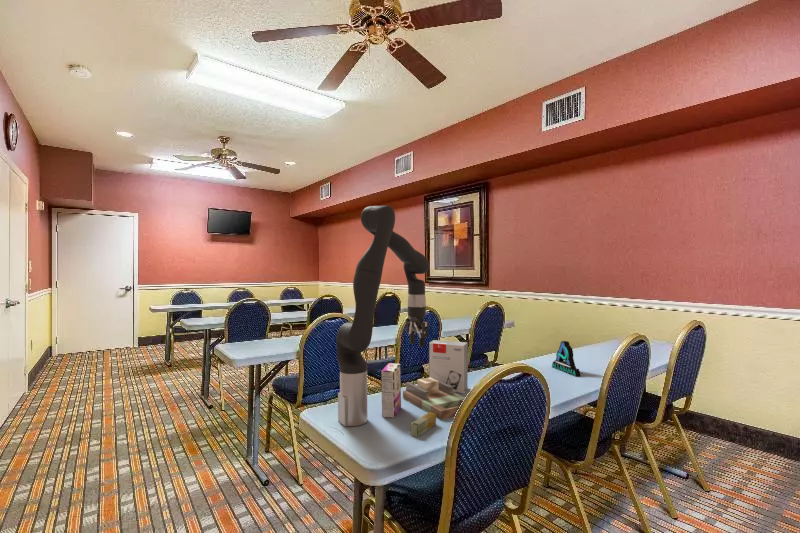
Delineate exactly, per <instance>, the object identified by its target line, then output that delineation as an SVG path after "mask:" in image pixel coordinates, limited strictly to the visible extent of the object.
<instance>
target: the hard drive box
mask: <svg viewBox="0 0 800 533" xmlns="http://www.w3.org/2000/svg"><path fill="white" fill-rule="evenodd" d="M468 346H469V344H468V342H465V341H455V340H454V341H452V340H451V341H450V340H439V339H438V340H437V339H433V340H431V341H430V342H428V378H434V379H436V380H439V381H441V382H443V383H446V384H448V385H450V386H453V387H454V393H461V394H464V393H465V392H466V391H467V390H468V380H469V379H468V375H469V374H468V364H469V363H468V362H469V361H468V359H469V358H468V357H469V356H468V355H469V352H468V350H469V348H468Z"/></svg>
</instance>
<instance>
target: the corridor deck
mask: <svg viewBox="0 0 800 533" xmlns="http://www.w3.org/2000/svg"><path fill="white" fill-rule="evenodd" d="M433 379H434V378H433ZM435 380H436V379H435ZM437 381H439V380H437ZM403 398H404V399H403ZM464 398H466V397H464V396H462V395H460V394H458V393H457V392H454V387H453V386H450V385H448V384H446V383H443V382H441V381H439V393H434V394H429V392H428V391H426V390H424V389H422V388H420V387H418V385H416V384H414V383H412V382H409V381H407V382H405V390H402V399H403V400H405V401H406V402H408V401H409V402H408V403H410V404H412V405H414V406H416V407H417V408H419V409H420V410H422V411H424V412H426V414H427V413H429V412H432V413H435V414H436V419H438V420H440V421H443V420H447V419H451V418H455V417H454V416H455V414H456V412H457V410H458V409H459V407H460V405H461V403H462V402H463V400H464Z"/></svg>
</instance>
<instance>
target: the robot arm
mask: <svg viewBox="0 0 800 533" xmlns="http://www.w3.org/2000/svg"><path fill="white" fill-rule="evenodd" d="M360 222H361V224H362V225H361V226H363V228H364V229H365V230H366V231H368V232H369V233H370V234H371V235H373V239H372V242H371V244H370V246H369V247H368V248H367V250H366V251H365V252H364V254H363V255H362V256H361V257H360V259H359V261H358V262H357V265H356V268H355V273H354V277H353V282H352V290H353V297H354V301H355V303H354V304H355V311H354V315H353V320H352V322H349V321H348V322H345V323H343V324H342V325H340V326H339V328H338V329H337V333H336V356H337V362H338V366H339V392H338V393H337V421H338V422H339V423H340V424H341V425H342V426H343V427H357V426H358V427H359V426H361V425H364V424H366V423H367V422H368V416H369V415H368V363H367V360H366V359H365V358H364V357H363V354H362V352H364V351H366V350H367V349H368V348H369V346H370V344H371V341H372V338H373V337H372V336H373V327H374V326H373V325H374V318H375V311H376V310H375V309H376V304H377V300H378V293H379V289H380V286H381V281H382V276H383V270H384V264H385V261H386V260H385V258H386V256H387V252H388V249H390V250H391V251H392V253H393V254H395V256H397V258H398V259H399V260H400V261H401V262H402V263H403V271H404V274H405V278H406V281H407V282H406V283H407V289H408V290H407V317H408V318H406V319H405V324H406V333H408V335H409V344H411V345H414V344H416V333H417V334H418V337H419V338H418V340H419V342H418V344H419V348H425V346H426V338H427V337H429V330H430V329H429V324H430V323H429V321H425V317H427V299H426V283H425V281H424V280H423V279H419V278H418V276H417V275H422V274H423V275H424V274H426V273H428V271H429V269H430V261H429V260H428V258H427V257H426V256H425V255H424V254H422V253H421V252H420V251H418V250H416V249H415V248H414V247H413V245H412V244H411V243H410V242H409V240H407V239H406V238H405V237H404V236H402V235H400V234H399V233H397V232H395V231H394V228H395V224H396V214H395V210H394V208H393V207H392V206H390V205H369V206H366V207H365V208H364V209H363V210H362V211H361V214H360Z"/></svg>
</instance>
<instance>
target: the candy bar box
mask: <svg viewBox="0 0 800 533" xmlns="http://www.w3.org/2000/svg"><path fill="white" fill-rule="evenodd" d="M380 374H381V375H380V376H381V379H380V380H381V382H380V383H381V385H380V386H381V387H380V388H381V418H388V419H389V418H392V419H396V417H397V415H398V413H399V412H400V409H401V408H402V395H401V394H402V390H401V388H402V387H401V363H395V362H394V363H392V362H389V363H387V364H386V366H385V367H384V368H383V369H382V370H381V372H380Z"/></svg>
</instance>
